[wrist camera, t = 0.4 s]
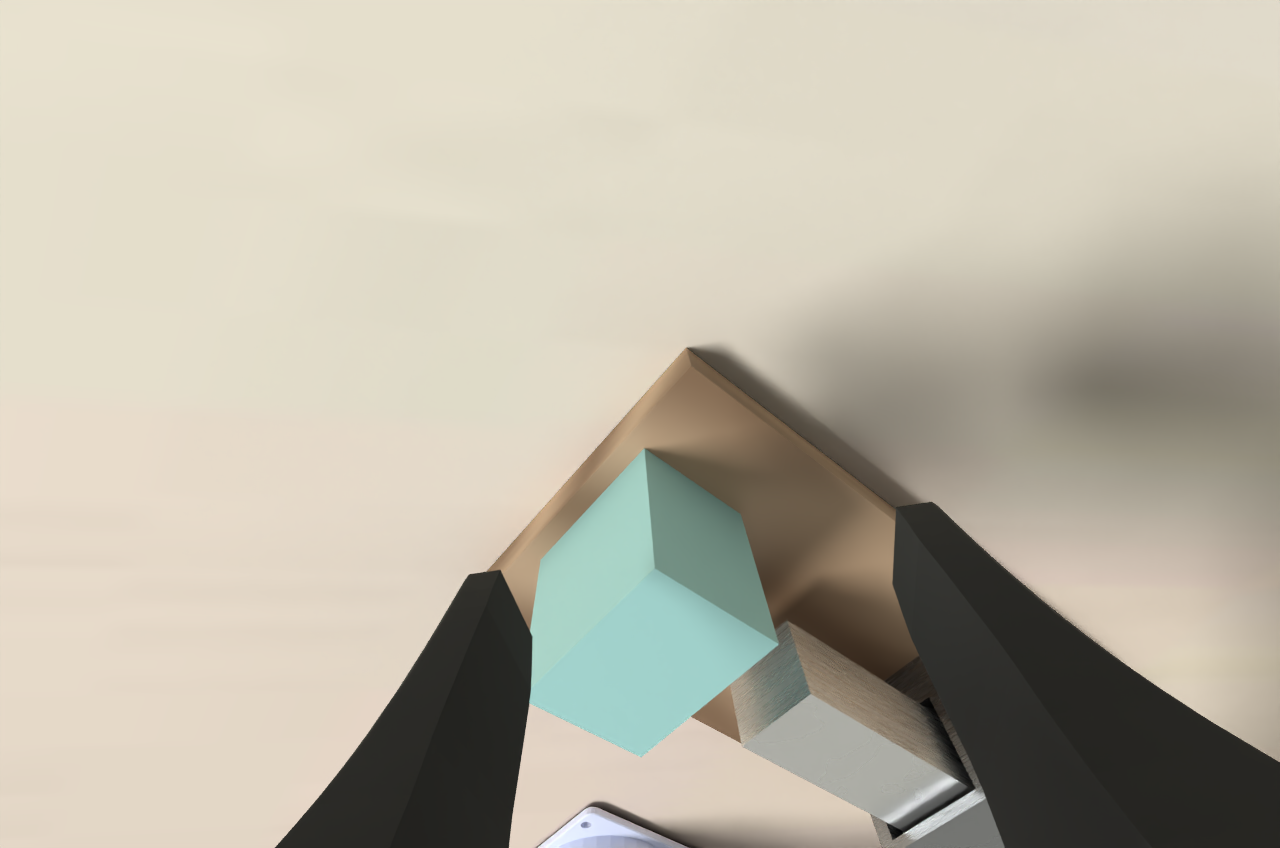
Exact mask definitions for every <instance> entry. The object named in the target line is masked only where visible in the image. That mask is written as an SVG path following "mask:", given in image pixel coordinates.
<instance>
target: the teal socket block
mask: <svg viewBox="0 0 1280 848" xmlns="http://www.w3.org/2000/svg"><path fill="white" fill-rule="evenodd" d="M530 632H531V634H532V637H533V640H532V677H531V694H530V701H529V703H530V704H532V705H534V706H536V707H538V708H541V709H543V710H545V711H547V712H549V713H551V714H553V715H555V716H557V717H559V718H561V719H563V720H565V721H567V722H569V723H572V724H574V725H576V726H578V727H580V728H582V729H584V730H586V731H588V732H590V733H592V734H594V735H596V736H598V737H600V738H603V739H605V740H607V741H609V742H611V743H613V744H615V745H617V746H619V747H621V748H623V749H625V750H627V751H629V752H631V753H633V754H636V755H638V756H640V757H642V756H643V755H644V754H646V753H647V752H648V751H649V750H651V749H652V748H653V747H654V746H655V745H657V744H658V743H659V742H660V741H662V740H663V739H664V738H665V737H666V736H668V735H669V734H670V733H671V732H673V731H674V730H675V729H676V728H678V727H679V726H680V725H681V724H682V723H684V722H685V721H686V720H687V719H689V718H690V717H691V716H692V715H693V714H695V713H696V712H697V711H698V710H700V709H701V708H702V707H703V706H704V705H706V704H707V703H708V702H709V701H711V700H712V699H713V698H714V697H715V696H717V695H718V694H719V693H720V692H722V691H723V690H724V689H725V688H726V687H728V686H729V685H730V684H731V683H733V682H734V681H735V680H736V679H737V678H739V677H740V676H741V675H742V674H744V673H745V672H746V671H747V670H748V669H750V668H751V667H752V666H753V665H755V664H756V663H757V662H758V661H759V660H761V659H762V658H763V657H764V656H766V655H767V654H768V653H769V652H770V651H772V650H773V649H774V648H775V647H777V646H778V645H779V642H778V639H777V635H776V632H775V629H774V625H773V622H772V618H771V615H770V612H769V608H768V605H767V601H766V598H765V595H764V591H763V588H762V584H761V581H760V578H759V574H758V571H757V568H756V564H755V561H754V557H753V554H752V551H751V547H750V544H749V540H748V537H747V534H746V530H745V527H744V523H743V520H742V517H741V514H740V513H738V512H737V511H735V510H734V509H732V508H731V507H730V506H728V505H727V504H725V503H724V502H722V501H721V500H719V499H718V498H716V497H715V496H714V495H712V494H711V493H709V492H708V491H706V490H705V489H703V488H702V487H700V486H699V485H697V484H696V483H695V482H693V481H692V480H690V479H689V478H687V477H686V476H684V475H683V474H681V473H680V472H679V471H677V470H676V469H674V468H673V467H671V466H670V465H668V464H667V463H665V462H664V461H662V460H661V459H660V458H658V457H657V456H655V455H654V454H652V453H651V452H649V451H648V450H646V449H645V448H644V449H643V450H642V451H641V452H640V453H639V454H638V455H637V457H636V458H635V459H634V460H633V461H632V462H631V463H630V464H629V465H628V466H627V467H626V468H625V469H624V471H623V472H622V473H621V474H620V475H619V476H618V477H617V478H616V479H615V480H614V481H613V482H612V483H611V485H610V486H609V487H608V488H607V489H606V490H605V491H604V492H603V493H602V494H601V495H600V496H599V497H598V499H597V500H596V501H595V502H594V503H593V504H592V505H591V506H590V507H589V508H588V509H587V510H586V511H585V513H584V514H583V515H582V516H581V517H580V518H579V519H578V520H577V521H576V522H575V523H574V524H573V525H572V527H571V528H570V529H569V530H568V531H567V532H566V533H565V534H564V535H563V536H562V537H561V538H560V539H559V541H558V542H557V543H556V544H555V545H554V546H553V547H552V548H551V549H550V550H549V551H548V552H547V553H546V555H545V556H544V557H543V558H542V559H541V560H540V567H539V574H538V581H537V587H536V594H535V601H534V608H533V614H532V621H531V628H530Z"/></svg>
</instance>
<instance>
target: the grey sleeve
mask: <svg viewBox="0 0 1280 848" xmlns="http://www.w3.org/2000/svg"><path fill="white" fill-rule="evenodd" d="M884 682H886V683H887V684H889V685H891V686H892V687H894V688H895V689H897V690H899V691H900V692H902V693H903V694H905V695H906V696H908V697H910V698H911V699H913V700H914V701H916V702H918V703H919V704H921V705H922V706H924V707H925V708H927V709H929V710H930V711H932V712H933V713H935V714H936V715H938V716H939V717H940V719H941V721H942V723H943V725H944V727H945V729H946V731H947V733H948V735H949V737H950V739H951V741H952V743H953V745H954V747H955V749H956V751H957V753H958V755H959V757H960V759H961V760H962V762H963V764H964V766H965V768H966V770H967V772H968V774H969V776H970V778H971V780H972V782H973V784H974V786H975V788H976V789H975V790H973V791H972V792H970V793H968V794H967V795H965V796H964V797H962V798H960V799H959V800H957V801H955V802H954V803H952V804H951V805H949V806H947V807H946V808H944V809H942V810H941V811H939V812H938V813H936V814H934V815H933V816H931V817H929V818H928V819H926V820H925V821H923V822H921V823H920V824H918V825H916V826H915V827H913V828H912V829H910V830H908V831H907V832H904V831H902V830H900V829H898V828H896V827H894V826H892V825H891V824H889V823H887V822H885V821H883V820H881V819H879V818H877V817H875V816H873V815H872V814H870V815H871V817H872V820H873V823H874V826H875V829H876V832H877V835H878V837H879V840H880V843H881V846H882V848H1005V847H1004V844H1003V842H1002V839H1001V836H1000V834H999V831H998V828H997V826H996V823H995V820H994V818H993V815H992V813H991V810H990V807H989V805H988V802H987V799H986V797H985V794H984V791H983V789H982V787H981V784H980V782H979V780H978V777H977V775H976V773H975V771H974V768H973V766H972V764H971V761H970V759H969V757H968V755H967V753H966V751H965V749H964V747H963V745H962V743H961V741H960V739H959V737H958V735H957V733H956V730H955V728H954V726H953V724H952V722H951V720H950V718H949V716H948V714H947V712H946V710H945V708H944V706H943V704H942V702H941V700H940V697H939V695H938V693H937V691H936V689H935V687H934V685H933V683H932V681H931V679H930V677H929V675H928V673H927V671H926V668H925V666H924V664H923V662H922V660H921V658H920V656H917V657H916V658H915V659H913V660H912V661H911V662H909V663H908V664H906V665H905V666H904V667H902V668H901V669H900V670H898V671H897V672H896V673H894V674H893V675H891V676H890V677H889V678H887V679H886V680H885V681H884Z"/></svg>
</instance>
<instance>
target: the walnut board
mask: <svg viewBox="0 0 1280 848" xmlns="http://www.w3.org/2000/svg"><path fill="white" fill-rule="evenodd" d="M644 448H645V449H646V450H648V451H649V452H651V453H652V454H654V455H655V456H657V457H658V458H660V459H661V460H662V461H664V462H665V463H667V464H668V465H670V466H671V467H673V468H674V469H676V470H677V471H679V472H680V473H681V474H683V475H684V476H686V477H687V478H689V479H690V480H692V481H693V482H695V483H696V484H697V485H699V486H700V487H702V488H703V489H705V490H706V491H708V492H709V493H711V494H712V495H714V496H715V497H716V498H718V499H719V500H721V501H722V502H724V503H725V504H727V505H728V506H730V507H731V508H732V509H734V510H735V511H737V512H738V513H740V514H741V517H742V520H743V523H744V527H745V530H746V534H747V537H748V540H749V544H750V547H751V551H752V554H753V557H754V561H755V564H756V568H757V571H758V574H759V578H760V581H761V584H762V588H763V591H764V595H765V598H766V601H767V605H768V608H769V612H770V615H771V618H772V622H773V625H774V629H776V628H778V627H779V626H780V625H781V624H782V623H784V622H785V621H786V620H788V621H790V622H791V623H793V624H794V625H796V626H797V627H799V628H801V629H802V630H804V631H805V632H807V633H809V634H810V635H812V636H813V637H815V638H816V639H818V640H820V641H821V642H823V643H824V644H826V645H827V646H829V647H831V648H832V649H834V650H835V651H837V652H839V653H840V654H842V655H843V656H845V657H846V658H848V659H850V660H851V661H853V662H854V663H856V664H857V665H859V666H861V667H862V668H864V669H865V670H867V671H869V672H870V673H872V674H873V675H875V676H876V677H878V678H880V679H881V680H883V681H885V680H886V679H887V678H889V677H890V676H891V675H893V674H894V673H896V672H897V671H898V670H900V669H901V668H902V667H904V666H905V665H906V664H908V663H909V662H911V661H912V660H913V659H915V658H916V657H917V656H919V654H918V652H917V650H916V647H915V645H914V643H913V641H912V639H911V636H910V634H909V631H908V628H907V625H906V622H905V620H904V617H903V614H902V611H901V608H900V605H899V602H898V599H897V596H896V593H895V590H894V588H893V585H892V580H893V560H894V540H895V519H896V509H894V508H893V507H892V506H891V505H889V504H888V503H887V502H885V501H884V500H883V499H882V498H880V497H879V496H878V495H876V494H875V493H874V492H872V491H871V490H870V489H869V488H867V487H866V486H865V485H863V484H862V483H861V482H860V481H858V480H857V479H856V478H854V477H853V476H852V475H850V474H849V473H848V472H847V471H845V470H844V469H843V468H841V467H840V466H839V465H838V464H836V463H835V462H834V461H832V460H831V459H830V458H828V457H827V456H826V455H825V454H823V453H822V452H821V451H819V450H818V449H817V448H816V447H814V446H813V445H812V444H810V443H809V442H808V441H806V440H805V439H804V438H803V437H801V436H800V435H799V434H797V433H796V432H795V431H793V430H792V429H791V428H790V427H788V426H787V425H786V424H784V423H783V422H782V421H781V420H779V419H778V418H777V417H775V416H774V415H773V414H771V413H770V412H769V411H768V410H766V409H765V408H764V407H762V406H761V405H760V404H759V403H757V402H756V401H755V400H753V399H752V398H751V397H749V396H748V395H747V394H746V393H744V392H743V391H742V390H740V389H739V388H738V387H737V386H735V385H734V384H733V383H731V382H730V381H729V380H727V379H726V378H725V377H724V376H722V375H721V374H720V373H718V372H717V371H716V370H715V369H713V368H712V367H711V366H709V365H708V364H707V363H705V362H704V361H703V360H702V359H700V358H699V357H698V356H696V355H695V354H694V353H692V352H691V351H690V350H689V349H687V348H686V349H685V350H684V351H683V352H682V353H681V354H680V355H679V356H678V358H677V359H676V360H675V361H674V362H673V363H672V364H671V365H670V367H669V368H668V369H667V370H666V371H665V372H664V373H663V374H662V376H661V377H660V378H659V379H658V380H657V381H656V382H655V383H654V385H653V386H652V387H651V388H650V389H649V390H648V391H647V392H646V394H645V395H644V396H643V397H642V398H641V399H640V400H639V401H638V402H637V404H636V405H635V406H634V407H633V408H632V409H631V410H630V411H629V413H628V414H627V415H626V416H625V417H624V418H623V419H622V420H621V422H620V423H619V424H618V425H617V426H616V427H615V428H614V429H613V431H612V432H611V433H610V434H609V435H608V436H607V437H606V438H605V439H604V441H603V442H602V443H601V444H600V445H599V446H598V447H597V448H596V450H595V451H594V452H593V453H592V454H591V455H590V456H589V457H588V459H587V460H586V461H585V462H584V463H583V464H582V465H581V466H580V468H579V469H578V470H577V471H576V472H575V473H574V474H573V475H572V477H571V478H570V479H569V480H568V481H567V482H566V483H565V484H564V485H563V487H562V488H561V489H560V490H559V491H558V492H557V493H556V494H555V496H554V497H553V498H552V499H551V500H550V501H549V502H548V503H547V505H546V506H545V507H544V508H543V509H542V510H541V511H540V512H539V514H538V515H537V516H536V517H535V518H534V519H533V520H532V521H531V523H530V524H529V525H528V526H527V527H526V528H525V529H524V530H523V531H522V533H521V534H520V535H519V536H518V537H517V538H516V539H515V540H514V542H513V543H512V544H511V545H510V546H509V547H508V548H507V549H506V551H505V552H504V553H503V554H502V555H501V556H500V557H499V558H498V560H497V561H496V562H495V563H494V564H493V565H492V566H491V567H490V568H489V570H488V571H487V572H489V571H495V570H501V572H502V574H503V576H504V578H505V580H506V582H507V584H508V587H509V589H510V591H511V593H512V595H513V597H514V599H515V601H516V603H517V605H518V607H519V609H520V612H521V614H522V616H523V618H524V620H525V622H526V624H527V626H528V628H529V630H530V628H531V621H532V614H533V608H534V601H535V594H536V587H537V581H538V574H539V567H540V560H541V559H542V558H543V557H544V556H545V555H546V553H547V552H548V551H549V550H550V549H551V548H552V547H553V546H554V545H555V544H556V543H557V542H558V541H559V539H560V538H561V537H562V536H563V535H564V534H565V533H566V532H567V531H568V530H569V529H570V528H571V527H572V525H573V524H574V523H575V522H576V521H577V520H578V519H579V518H580V517H581V516H582V515H583V514H584V513H585V511H586V510H587V509H588V508H589V507H590V506H591V505H592V504H593V503H594V502H595V501H596V500H597V499H598V497H599V496H600V495H601V494H602V493H603V492H604V491H605V490H606V489H607V488H608V487H609V486H610V485H611V483H612V482H613V481H614V480H615V479H616V478H617V477H618V476H619V475H620V474H621V473H622V472H623V471H624V469H625V468H626V467H627V466H628V465H629V464H630V463H631V462H632V461H633V460H634V459H635V458H636V457H637V455H638V454H639V453H640V452H641V451H642V450H643V449H644ZM691 717H693V718H695V719H696V720H698V721H700V722H702V723H704V724H706V725H708V726H710V727H712V728H713V729H715V730H717V731H719V732H721V733H723V734H725V735H727V736H729V737H731V738H732V739H734V740H736V741H738V742H740V743H741V739H740V734H739V728H738V723H737V718H736V713H735V708H734V703H733V698H732V692H731V687H730V685H729V686H728V687H726V688H725V689H724V690H723V691H722V692H720V693H719V694H718V695H717V696H715V697H714V698H713V699H712V700H711V701H709V702H708V703H707V704H706V705H704V706H703V707H702V708H701V709H700V710H698V711H697V712H696V713H695V714H693V715H692V716H691Z"/></svg>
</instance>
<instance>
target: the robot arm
mask: <svg viewBox="0 0 1280 848" xmlns="http://www.w3.org/2000/svg"><path fill="white" fill-rule="evenodd" d="M892 585H893V588H894V590H895V593H896V596H897V599H898V602H899V605H900V608H901V611H902V614H903V617H904V620H905V622H906V625H907V628H908V631H909V634H910V636H911V639H912V641H913V643H914V645H915V647H916V650H917V652H918V654H919V656H920V658H921V660H922V662H923V664H924V666H925V668H926V671H927V673H928V675H929V677H930V679H931V681H932V683H933V685H934V687H935V689H936V691H937V693H938V695H939V697H940V700H941V702H942V704H943V706H944V708H945V710H946V712H947V714H948V716H949V718H950V720H951V722H952V724H953V726H954V728H955V730H956V733H957V735H958V737H959V739H960V741H961V743H962V745H963V747H964V749H965V751H966V753H967V755H968V757H969V759H970V761H971V764H972V766H973V768H974V771H975V773H976V775H977V777H978V780H979V782H980V784H981V787H982V789H983V791H984V794H985V797H986V799H987V802H988V805H989V807H990V810H991V813H992V815H993V818H994V820H995V823H996V826H997V828H998V831H999V834H1000V836H1001V839H1002V842H1003V844H1004V847H1005V848H1280V762H1278V761H1276V760H1275V759H1273V758H1271V757H1270V756H1268V755H1266V754H1265V753H1263V752H1261V751H1260V750H1258V749H1256V748H1255V747H1253V746H1251V745H1250V744H1248V743H1246V742H1244V741H1243V740H1241V739H1239V738H1238V737H1236V736H1234V735H1233V734H1231V733H1229V732H1228V731H1226V730H1224V729H1223V728H1221V727H1219V726H1218V725H1216V724H1214V723H1213V722H1211V721H1209V720H1208V719H1206V718H1205V717H1203V716H1201V715H1200V714H1198V713H1197V712H1195V711H1194V710H1192V709H1191V708H1189V707H1188V706H1186V705H1185V704H1183V703H1182V702H1180V701H1178V700H1177V699H1175V698H1174V697H1172V696H1171V695H1169V694H1168V693H1166V692H1165V691H1163V690H1162V689H1160V688H1159V687H1157V686H1156V685H1154V684H1153V683H1151V682H1150V681H1149V680H1147V679H1146V678H1144V677H1143V676H1141V675H1140V674H1138V673H1137V672H1136V671H1134V670H1133V669H1131V668H1130V667H1128V666H1127V665H1126V664H1124V663H1123V662H1121V661H1120V660H1119V659H1117V658H1116V657H1114V656H1113V655H1112V654H1110V653H1109V652H1108V651H1106V650H1105V649H1104V648H1102V647H1101V646H1100V645H1098V644H1097V643H1095V642H1094V641H1093V640H1092V639H1090V638H1089V637H1088V636H1086V635H1085V634H1084V633H1082V632H1081V631H1080V630H1079V629H1077V628H1076V627H1075V626H1073V625H1072V624H1071V623H1070V622H1068V621H1067V620H1066V619H1064V618H1063V617H1062V616H1061V615H1059V614H1058V613H1057V612H1056V611H1055V610H1053V609H1052V608H1051V607H1050V606H1048V605H1047V604H1046V603H1045V602H1043V601H1042V600H1041V599H1040V598H1039V597H1038V596H1036V595H1035V594H1034V593H1033V592H1032V591H1030V590H1029V589H1028V588H1027V587H1026V586H1025V585H1023V584H1022V583H1021V582H1020V581H1019V580H1018V579H1016V578H1015V577H1014V576H1013V575H1012V574H1010V573H1009V572H1008V571H1007V570H1006V569H1005V568H1004V567H1003V566H1001V565H1000V564H999V563H998V562H997V561H996V560H995V559H994V558H992V557H991V556H990V555H989V554H988V553H987V552H986V551H985V550H984V549H983V548H982V547H980V546H979V545H978V544H977V543H976V542H975V541H974V540H973V539H972V538H971V537H970V536H969V535H968V534H966V533H965V532H964V531H963V530H962V529H961V528H960V527H959V526H958V525H957V524H956V523H955V522H954V521H953V520H952V519H951V518H950V517H949V516H948V515H947V514H946V513H945V512H943V511H942V510H941V509H940V508H939V507H938V506H937V505H936V504H934V503H933V502H928V503H921V504H915V505H909V506H902V507H896V519H895V540H894V560H893V580H892ZM532 640H533V637H532V634H531V632H530V630H529V628H528V626H527V624H526V622H525V620H524V618H523V616H522V614H521V612H520V609H519V607H518V605H517V603H516V601H515V599H514V597H513V595H512V593H511V591H510V589H509V587H508V584H507V582H506V580H505V578H504V576H503V574H502V572H501V570H495V571H489V572H482V573H476V574H470V575H468V577H467V578H466V579H465V581H464V583H463V584H462V586H461V588H460V589H459V591H458V593H457V594H456V596H455V598H454V600H453V601H452V603H451V605H450V606H449V608H448V610H447V611H446V613H445V615H444V616H443V618H442V620H441V622H440V623H439V625H438V627H437V628H436V630H435V632H434V633H433V635H432V637H431V638H430V640H429V641H428V643H427V645H426V646H425V648H424V650H423V651H422V653H421V654H420V656H419V657H418V659H417V661H416V662H415V664H414V665H413V667H412V669H411V670H410V672H409V673H408V675H407V677H406V678H405V680H404V681H403V683H402V684H401V686H400V687H399V689H398V690H397V692H396V693H395V695H394V696H393V698H392V699H391V701H390V702H389V704H388V705H387V706H386V708H385V709H384V711H383V712H382V714H381V715H380V717H379V718H378V720H377V721H376V722H375V724H374V725H373V727H372V728H371V730H370V731H369V733H368V734H367V735H366V737H365V738H364V739H363V741H362V742H361V744H360V745H359V746H358V748H357V749H356V750H355V752H354V753H353V754H352V756H351V757H350V758H349V760H348V761H347V762H346V764H345V765H344V766H343V767H342V769H341V770H340V771H339V773H338V774H337V775H336V776H335V778H334V779H333V780H332V781H331V783H330V784H329V785H328V786H327V788H326V789H325V790H324V791H323V793H322V794H321V795H320V796H319V798H318V799H317V800H316V801H315V802H314V803H313V805H312V806H311V807H310V808H309V809H308V810H307V812H306V813H305V814H304V815H303V816H302V818H301V819H300V820H299V821H298V822H297V823H296V825H295V826H294V827H293V828H292V829H291V830H290V831H289V833H288V834H287V835H286V836H285V837H284V838H283V839H282V840H281V842H280V843H279V844H278V845H277V846H276V847H275V848H509V840H510V831H511V822H512V814H513V807H514V801H515V794H516V788H517V781H518V775H519V768H520V762H521V755H522V749H523V742H524V736H525V729H526V722H527V715H528V708H529V701H530V694H531V677H532ZM538 848H689V847H686V846H684V845H682V844H679V843H677V842H675V841H673V840H670V839H668V838H666V837H663V836H661V835H659V834H657V833H654V832H652V831H650V830H648V829H645V828H643V827H641V826H638V825H636V824H634V823H632V822H629V821H627V820H625V819H622V818H620V817H618V816H616V815H613V814H611V813H609V812H607V811H604V810H602V809H600V808H597V807H588V808H586V809H585V810H583V811H582V812H581V813H580V814H578V815H577V816H576V817H575V818H573V819H572V820H571V821H570V822H569V823H567V824H566V825H565V826H564V827H562V828H561V829H560V830H559V831H557V832H556V833H555V834H554V835H552V836H551V837H550V838H549V839H548V840H546V841H545V842H544V843H543V844H541V845H540V846H539V847H538Z"/></svg>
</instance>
